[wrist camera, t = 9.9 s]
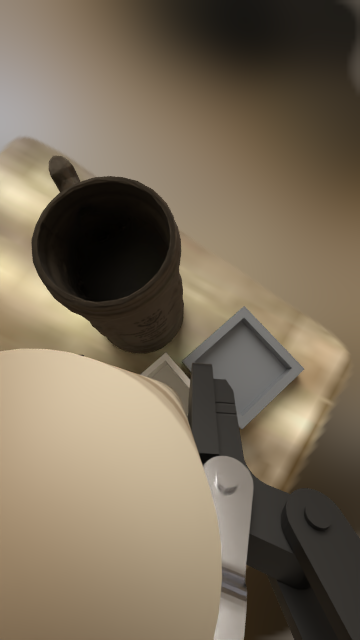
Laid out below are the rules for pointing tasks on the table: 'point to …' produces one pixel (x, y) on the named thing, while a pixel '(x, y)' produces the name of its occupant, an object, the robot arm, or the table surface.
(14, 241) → the table surface
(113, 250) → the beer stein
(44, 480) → the birch pin
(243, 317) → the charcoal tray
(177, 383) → the light grey square box
